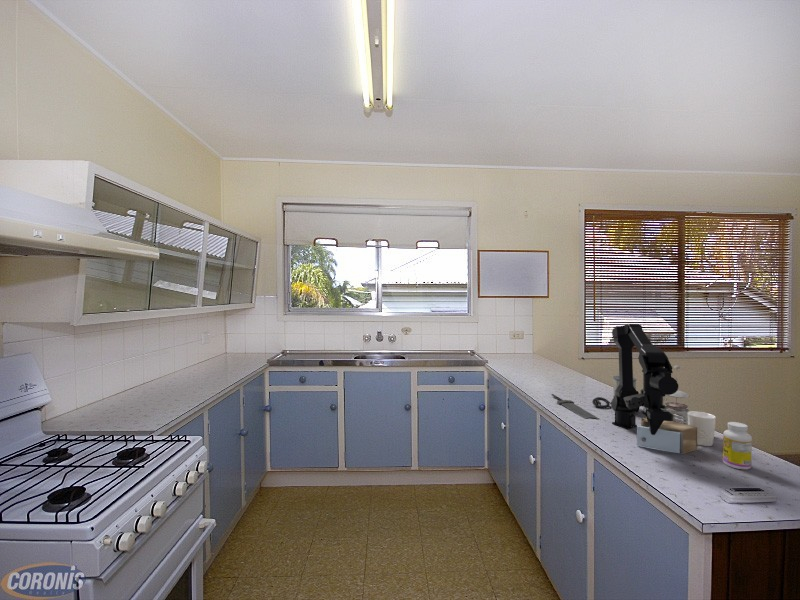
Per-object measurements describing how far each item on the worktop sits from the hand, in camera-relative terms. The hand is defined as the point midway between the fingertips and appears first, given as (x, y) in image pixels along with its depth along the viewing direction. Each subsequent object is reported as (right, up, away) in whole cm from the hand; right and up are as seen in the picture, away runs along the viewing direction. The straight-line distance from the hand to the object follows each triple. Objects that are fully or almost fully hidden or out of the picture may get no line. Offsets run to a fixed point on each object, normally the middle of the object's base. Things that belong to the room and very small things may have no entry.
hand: (652, 434), depth 130 cm
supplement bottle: (+19, -6, -11) cm, 22 cm away
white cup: (+22, -5, +7) cm, 23 cm away
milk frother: (+12, -5, +46) cm, 48 cm away
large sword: (-6, -5, +49) cm, 50 cm away
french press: (+21, -5, +20) cm, 29 cm away
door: (+2, -5, 0) cm, 5 cm away
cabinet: (+9, -5, +6) cm, 12 cm away
